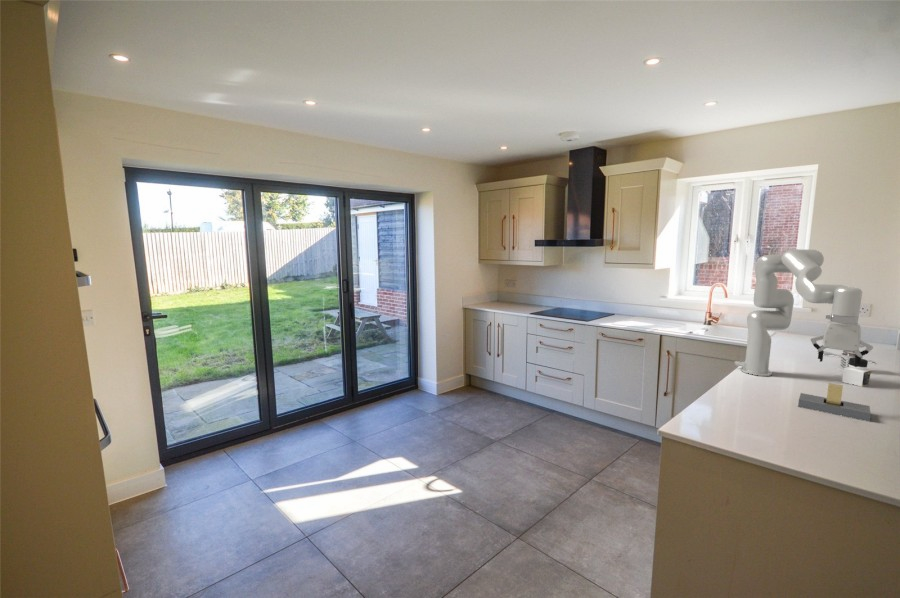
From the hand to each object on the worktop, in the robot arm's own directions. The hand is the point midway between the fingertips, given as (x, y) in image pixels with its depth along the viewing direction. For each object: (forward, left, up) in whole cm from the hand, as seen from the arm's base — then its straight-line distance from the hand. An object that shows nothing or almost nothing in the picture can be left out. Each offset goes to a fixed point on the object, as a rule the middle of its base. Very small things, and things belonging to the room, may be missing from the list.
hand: (837, 363), depth 158 cm
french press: (+5, +77, -19) cm, 79 cm away
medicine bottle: (+7, +50, -19) cm, 54 cm away
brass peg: (0, 0, -19) cm, 19 cm away
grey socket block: (0, 0, -19) cm, 19 cm away
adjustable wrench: (+3, +107, -19) cm, 109 cm away
